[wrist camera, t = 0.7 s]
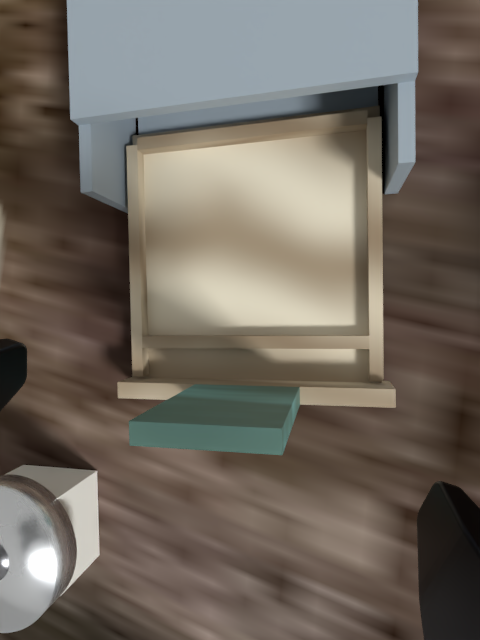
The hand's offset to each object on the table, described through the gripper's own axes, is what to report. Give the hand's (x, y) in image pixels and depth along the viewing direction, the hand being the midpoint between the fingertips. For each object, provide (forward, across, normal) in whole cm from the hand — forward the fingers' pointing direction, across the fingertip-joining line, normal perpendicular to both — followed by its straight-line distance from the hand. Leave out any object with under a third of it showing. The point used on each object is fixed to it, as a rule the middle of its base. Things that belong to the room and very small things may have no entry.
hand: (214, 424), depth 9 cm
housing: (+17, +4, -8) cm, 19 cm away
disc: (+6, +9, +16) cm, 19 cm away
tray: (+14, +2, 0) cm, 14 cm away
